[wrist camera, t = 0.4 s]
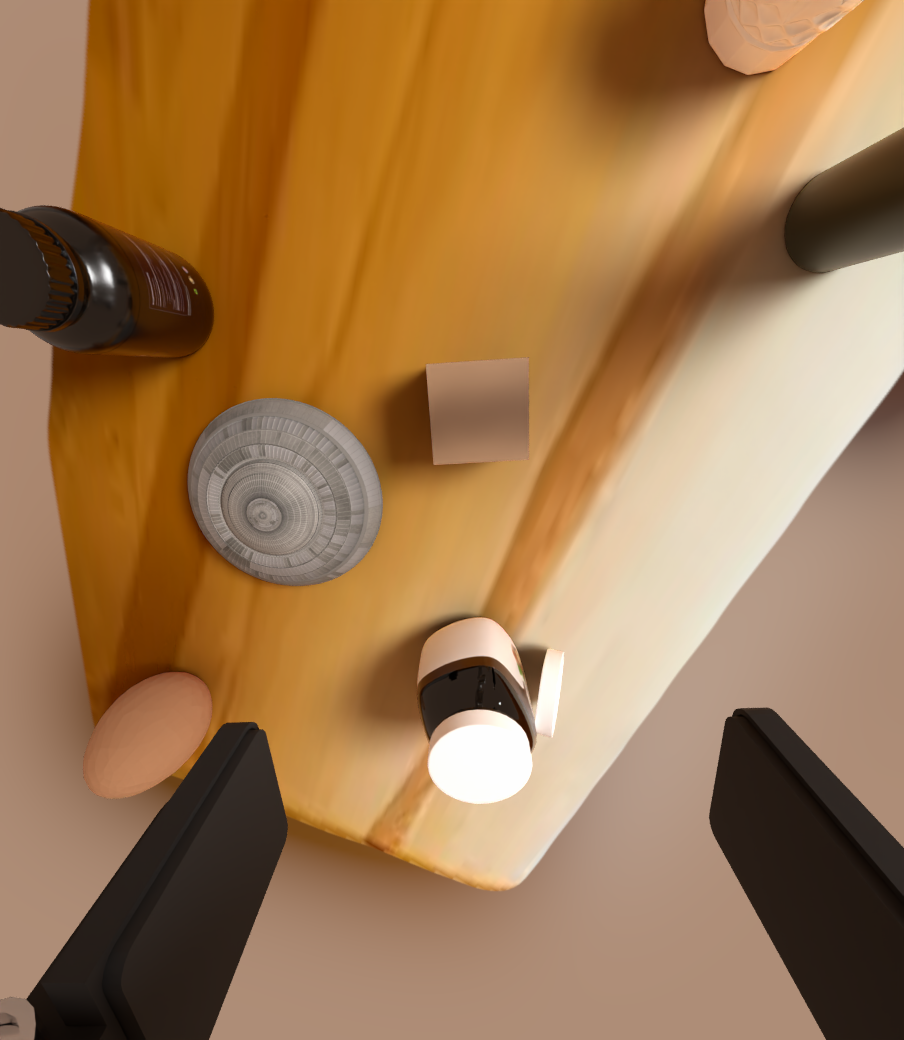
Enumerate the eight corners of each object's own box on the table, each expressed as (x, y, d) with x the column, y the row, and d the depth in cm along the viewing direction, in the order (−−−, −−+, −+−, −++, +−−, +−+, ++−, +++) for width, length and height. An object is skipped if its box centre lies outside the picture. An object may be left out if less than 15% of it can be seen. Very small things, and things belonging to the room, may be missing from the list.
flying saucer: (268, 603, 38) (237, 640, 33) (160, 451, 33) (105, 465, 28) (418, 534, 35) (410, 562, 30) (322, 360, 31) (294, 358, 26)
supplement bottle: (156, 373, 31) (-18, 374, 20) (99, 275, 29) (-131, 214, 18) (237, 336, 30) (102, 315, 19) (184, 231, 28) (-3, 138, 17)
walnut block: (432, 365, 31) (425, 364, 25) (516, 359, 30) (528, 357, 25) (438, 448, 33) (433, 464, 27) (517, 443, 32) (529, 459, 27)
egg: (159, 713, 42) (61, 825, 32) (144, 648, 39) (32, 746, 29) (237, 717, 42) (163, 831, 31) (226, 652, 39) (142, 752, 29)
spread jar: (412, 625, 38) (391, 729, 27) (531, 577, 36) (561, 669, 25) (468, 722, 41) (469, 850, 30) (579, 684, 39) (624, 805, 28)
